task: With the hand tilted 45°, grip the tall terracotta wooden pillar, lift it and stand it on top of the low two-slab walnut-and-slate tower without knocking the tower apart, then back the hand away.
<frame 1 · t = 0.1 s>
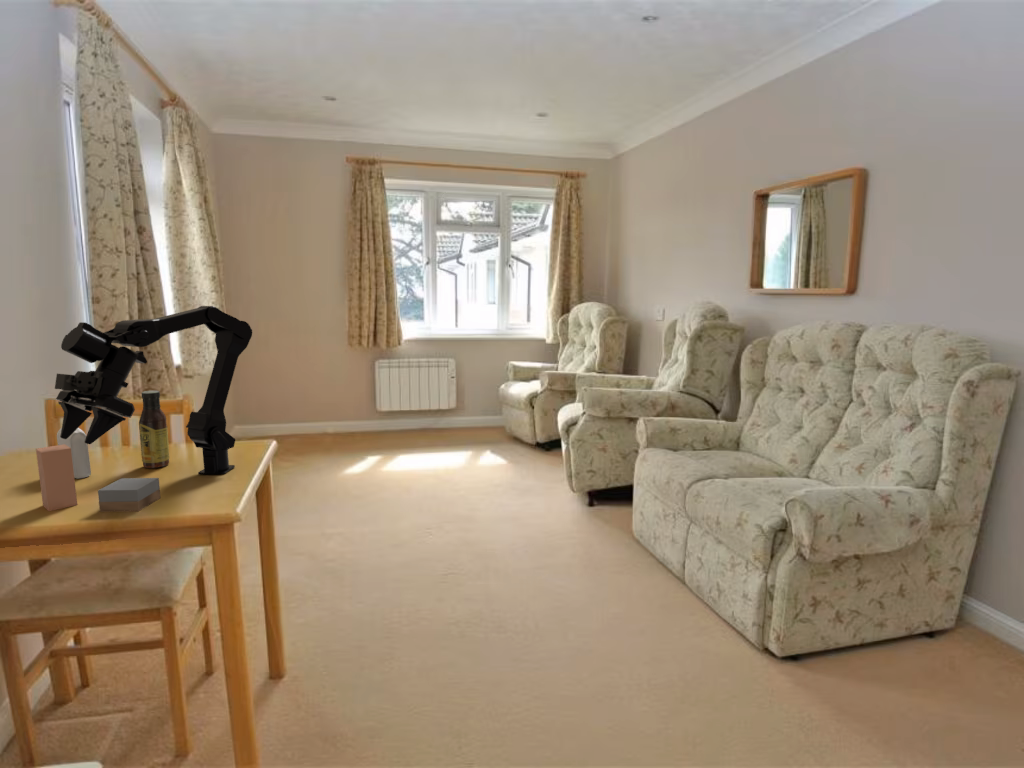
hand: (74, 441, 122), 15 cm above the table, tool tilted 35°, fingers open, 9 cm apart
walnut slab: (131, 506, 128), on the table, touching slate slab
sauce bottle: (156, 466, 156), on the table
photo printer: (76, 475, 149), on the table
terracotta pillar: (60, 505, 127), on the table
slate slab: (130, 495, 127), point 2 cm above the table, touching walnut slab
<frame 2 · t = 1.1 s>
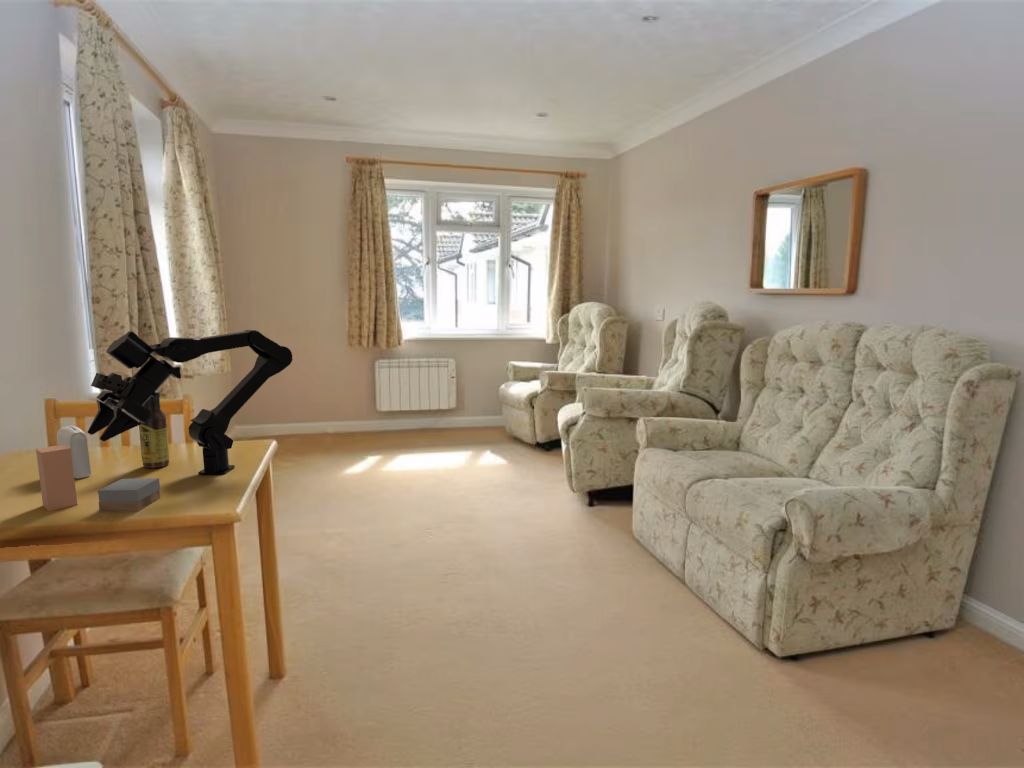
hand: (95, 436, 131), 14 cm above the table, tool tilted 45°, fingers open, 9 cm apart
nothing on the table moved.
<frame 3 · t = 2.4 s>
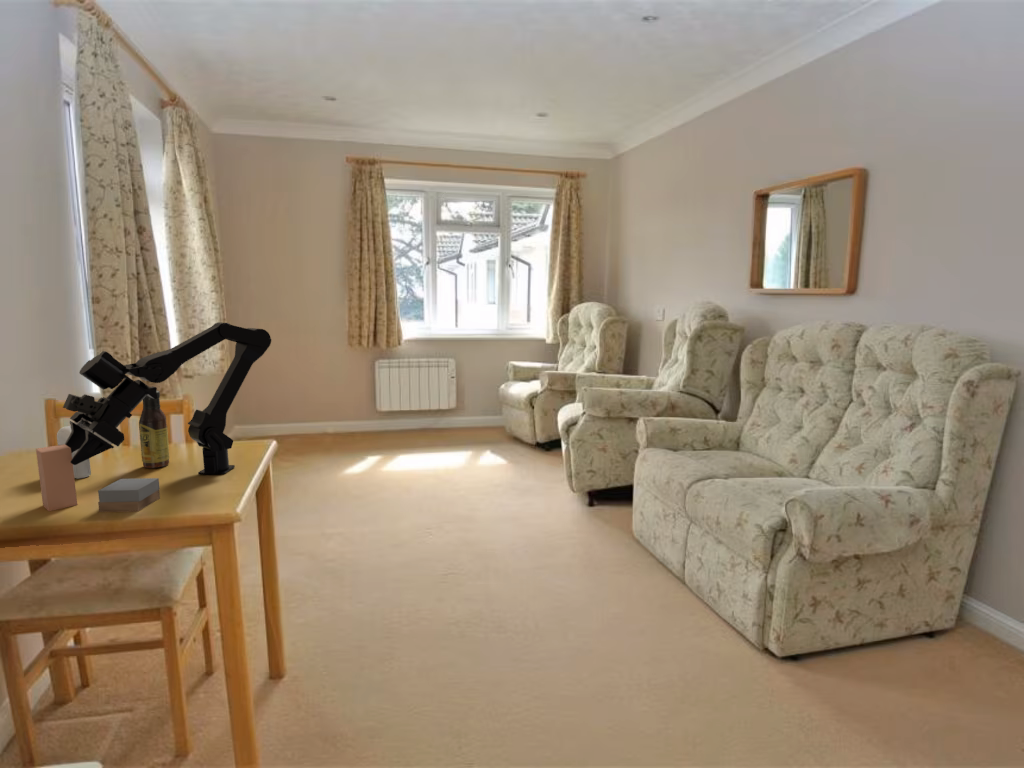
hand: (66, 459, 127), 10 cm above the table, tool tilted 45°, fingers open, 9 cm apart
nothing on the table moved.
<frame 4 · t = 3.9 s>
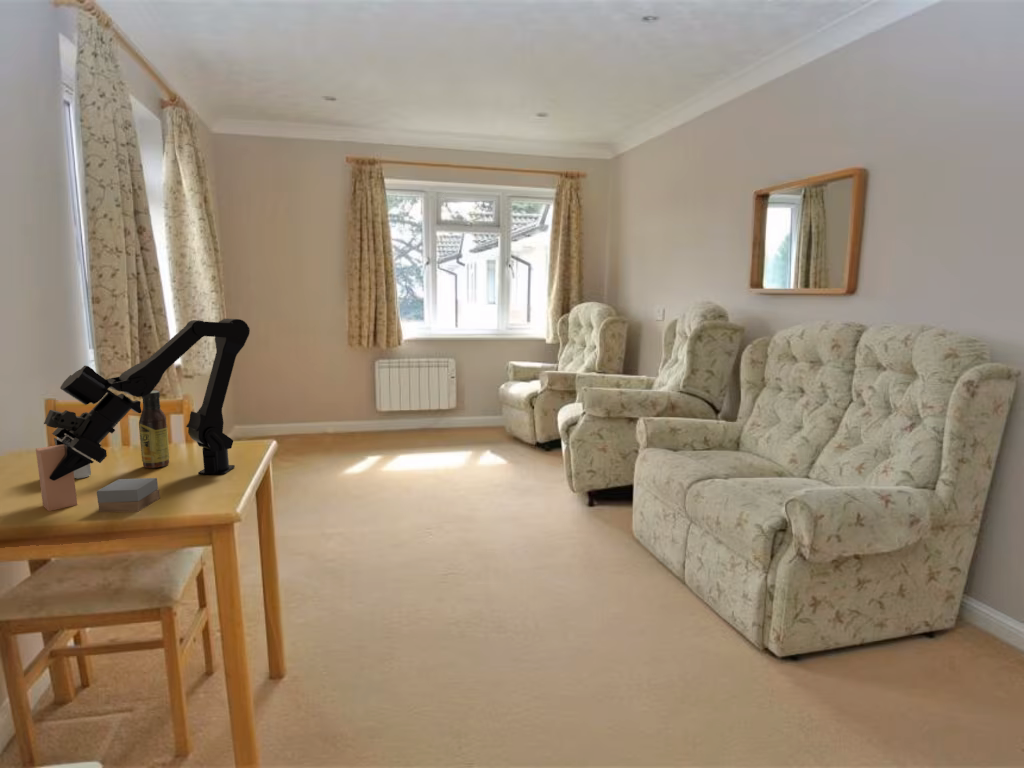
hand: (48, 476, 125), 7 cm above the table, tool tilted 45°, fingers closed on terracotta pillar, 5 cm apart
terracotta pillar: (60, 505, 127), on the table, touching gripper
everything else where it was.
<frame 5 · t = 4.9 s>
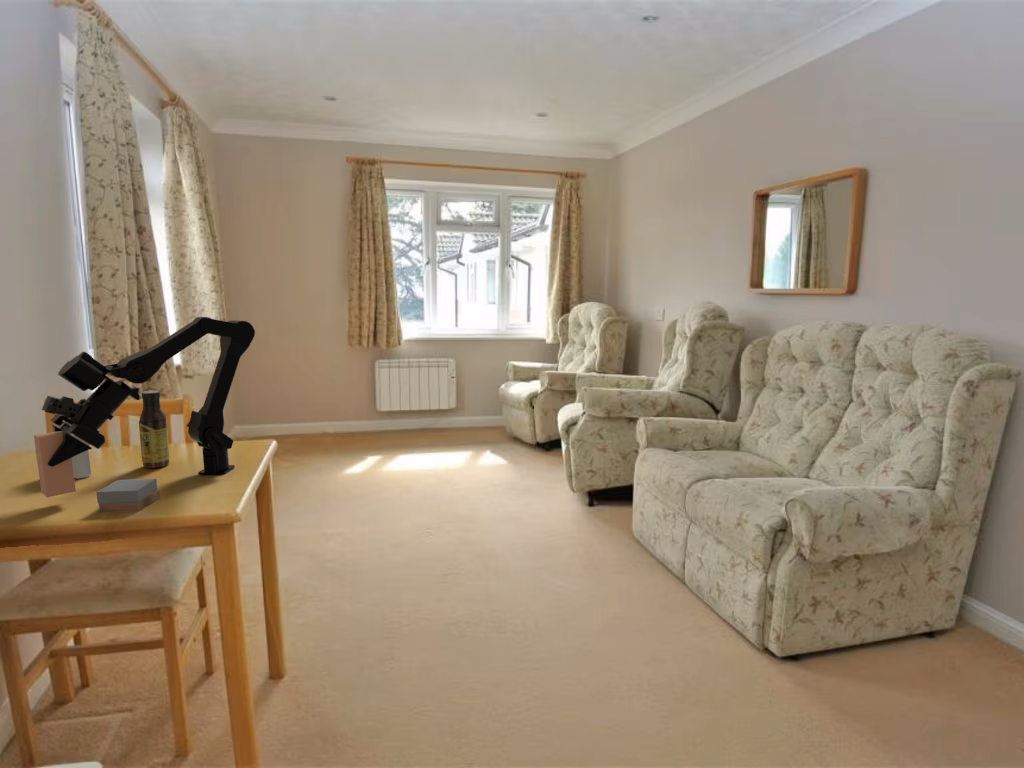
hand: (46, 463, 125), 10 cm above the table, tool tilted 45°, fingers closed on terracotta pillar, 5 cm apart
walnut slab: (131, 507, 127), on the table
terracotta pillar: (58, 491, 127), point 3 cm above the table, touching gripper
slate slab: (128, 496, 127), point 2 cm above the table
everything else where it was.
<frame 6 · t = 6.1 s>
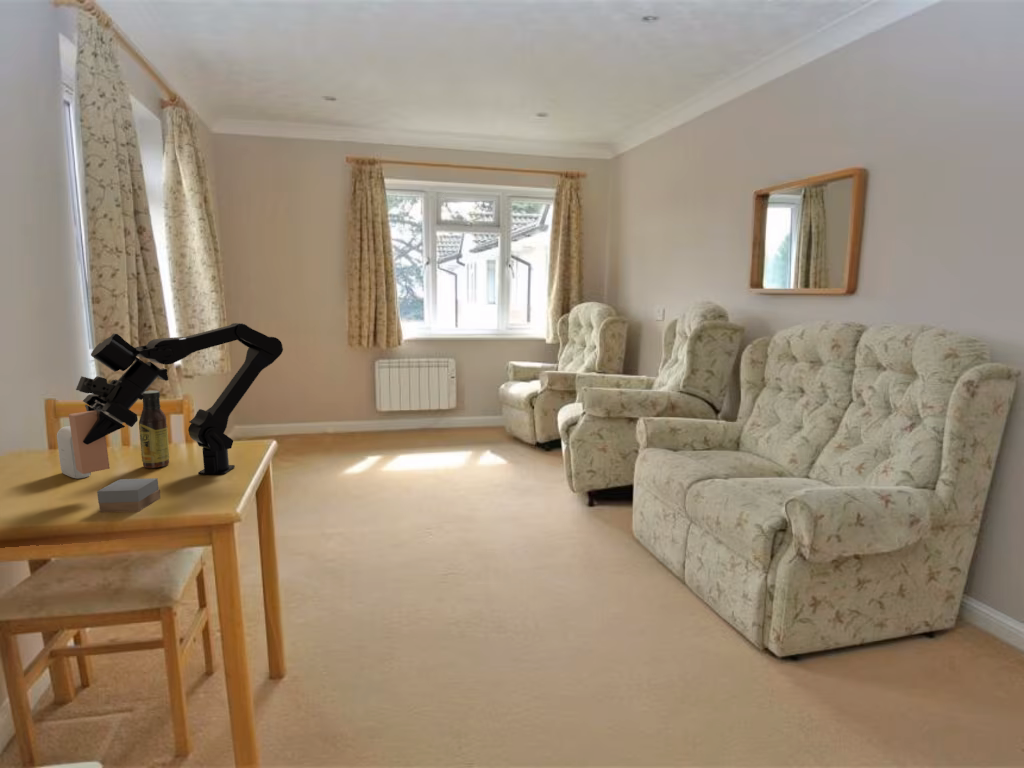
hand: (81, 441, 129), 13 cm above the table, tool tilted 45°, fingers closed on terracotta pillar, 5 cm apart
terracotta pillar: (93, 469, 131), point 6 cm above the table, touching gripper
everything else where it was.
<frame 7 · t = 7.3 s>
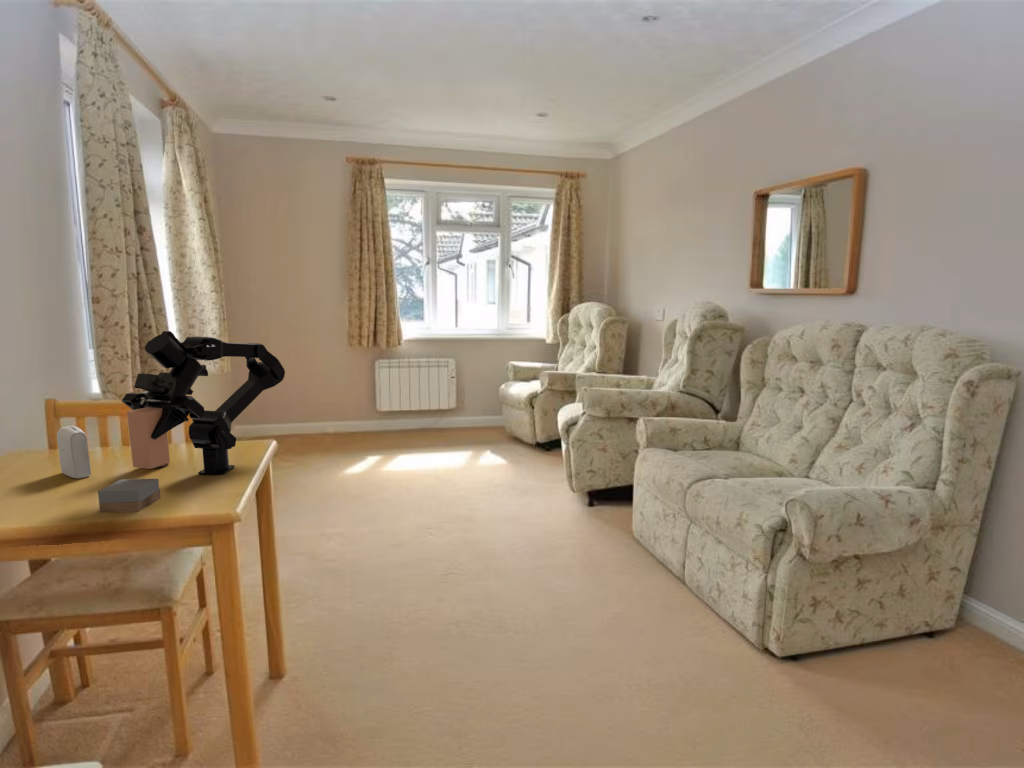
hand: (143, 437, 131), 13 cm above the table, tool tilted 45°, fingers closed on terracotta pillar, 5 cm apart
walnut slab: (131, 507, 127), on the table, touching slate slab
terracotta pillar: (151, 464, 133), point 7 cm above the table, touching gripper
slate slab: (130, 496, 127), point 2 cm above the table, touching walnut slab
everything else where it was.
when the fingers open (12 cm above the table, at t = 9.5 s): terracotta pillar drops 1 cm, resting on slate slab.
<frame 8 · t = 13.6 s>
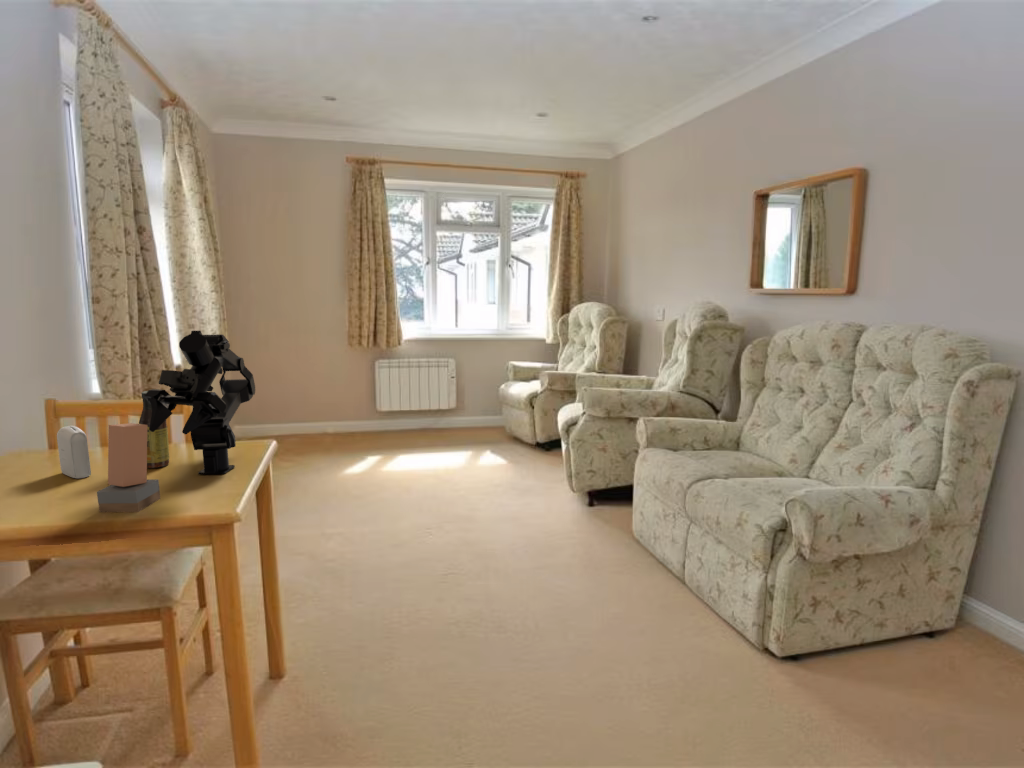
hand: (167, 432, 135), 14 cm above the table, tool tilted 45°, fingers open, 9 cm apart
terracotta pillar: (127, 483, 127), point 5 cm above the table, tilted 7°, touching slate slab
slate slab: (129, 496, 127), point 2 cm above the table, touching terracotta pillar, walnut slab
everything else where it was.
at the end: terracotta pillar 0.4 cm off-centre on the slate slab, point 2.7 cm above the slate slab's base; terracotta pillar tilted 4°; slate slab 0.1 cm off-centre on the walnut slab, point 2.5 cm above the walnut slab's base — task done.
